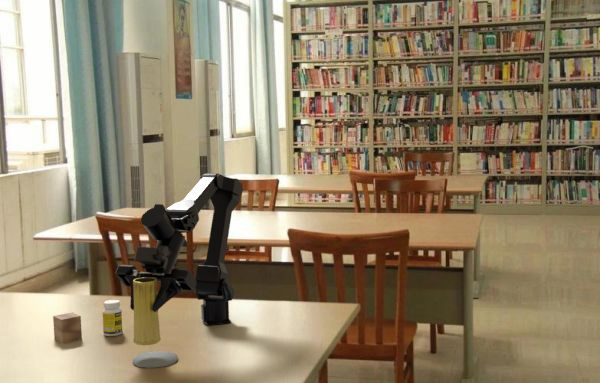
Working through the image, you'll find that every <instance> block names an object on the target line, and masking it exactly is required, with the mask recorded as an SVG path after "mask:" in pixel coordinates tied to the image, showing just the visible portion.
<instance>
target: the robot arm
mask: <svg viewBox="0 0 600 383" xmlns="http://www.w3.org/2000/svg"><path fill="white" fill-rule="evenodd" d="M243 190H244V188H243V184H242V183H241V182H240V180H239V179H238V178H235V177H234V178H231V177H229V176H228V177H227V176H225V175H222V174H221V173H218V172H217V173H212V172H211V173H209V172H207V173H204V174H202V175H201V177H200V179H199V181H198V182H197V183H196V185H194V187H193V188H192V189H191V190H190V191H189V193H187V195H186V196H185V198H183V199H182V200H180V201H178V202H175V203H173V204H172V205H170V206H169V207H167V208H166V207H165V206H164V204H163V203H154V206H153V207H152V208H150V209H147V210H146V211H145V212H144V213H143V214H142V215H141V219H140V222H141V224H142V225H143V227H144V228H145V229H146V231H147V232H148V234H149V235H150V237H151V238H152V239H153V240H154V241H157V243H156V245H155V247H150V246H149V247H148V246H137V247H136V249H135V255H134V259H133V260H134V262H139V263H140V266H141V268H142V269H144V270H145V271H140V270H138V268H137V267H136V266H135V265H134V264H132V265H130V264H120V265H118V267H117V268H116V271H115V274H114V275H115V276H116V277H117V278H118V280H120V281H121V283H122V284H123V286H125V287H128V288H130V303H129V304H130V305H129V308H130V309H131V310H132V311H134V289H133V280H134V279H137V278H142V277H154V278H156V279H157V283H158V282H159V283H160V287H159V290H158V295H157V297H156V300H155V302H154V305H153V309H152V310H153V311H154V312H156V311H157V310H158V311H159V310H160V309H161V308H162V307H163V306H164V305H165V304H166V303H167V302H169V301H170V300H172V298H174V297H175V296H176V295H178V294H182V293H183V292H194V291H195V294H196V297H197V300H199V301H201V300H202V304H201V305H200V307H201V308H200V309H201V320H202V321H203V322H204V323H205V324H206V325H205V326H213V325H221V324H230V323H232V320H231V319H230V309H229V308H230V306H229V302H230V301H233V299H234V296H235V289H234V287H233V285H232V284H231V283H230V282H229V272H228V270H227V267H226V265H225V260H226V254H227V246H228V240H229V235H230V234H229V233H230V227H231V219H232V213H233V211H234V210H235V209H236V207H237V206H238V205H239V204H240V201H241V197H242V194H243ZM209 200H210V202H211V204H212V206H213V214H212V219H211V226H210V231H209V232H210V233H209V238H208V239H209V240H208V243H207V252H206V257H205V258H206V259H205V261H204V262H203V263H202V264H198V266H197V267H196V274H195V275H196V276H194V275H193V274H192V272H191V270H190V269H189V268H181V267H178V266H179V264H180V263H179V261H178V260H177V259H178V258H179V254H180V252H181V249H182V248H187V247H188V241H187V239H186V236H185V235H184V234H183V233H182V232H192V231H193V230H194V229H195V228H196V226H197V225H198V223H199V221H200V217H199V214H200V212H201V211H202V209H203V208H204V207H205V205H206V204H207V203H208V202H209ZM182 291H183V292H182Z"/></svg>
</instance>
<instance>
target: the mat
mask: <svg viewBox="0 0 600 383" xmlns="http://www.w3.org/2000/svg"><path fill="white" fill-rule="evenodd" d="M178 359H179V357H178V354H177V353H176V352H171V351H165V350H164V351H163V350H160V351H159V350H156V351H155V350H154V351H149V352H143V353H141V354H137V355H136V356H134V357H133V358H132V364H134V365H133V366H135V365H136V366H135V367H137V366H139V367H138V368H141V367H146V368H145V369H157V368H158V367H159V368H165V367H167V366H171V365H174V364H175V363H177V361H178Z"/></svg>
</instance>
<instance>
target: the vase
mask: <svg viewBox="0 0 600 383" xmlns="http://www.w3.org/2000/svg"><path fill="white" fill-rule="evenodd" d="M133 289H134V310H133V340H132V343H134V344H135V345H138V346H151V345H155V344H158V343H160V342H161V340H162V338H161V332H160V320H159V318H160V317H159V309H158V310H157V311H156V312H154V311H153V310H152V309H153V305H154V302H155V300H156V297H157V295H158V292H159V290H158V289H159V288H158V282H157V279H156V278H154V277H142V278H137V279H134V280H133Z"/></svg>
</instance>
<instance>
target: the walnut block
mask: <svg viewBox="0 0 600 383" xmlns="http://www.w3.org/2000/svg"><path fill="white" fill-rule="evenodd" d="M52 319H53V336H54V337H53V338H54V340H56V341H57V342H59V343H60V344H66V343H70V342H72V343H73V342H77V341H79V340H80V341H81V340H83V335H82V316H81V315H80V314H77V313H74V312H67V313H62V314H55V315H53V316H52Z"/></svg>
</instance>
